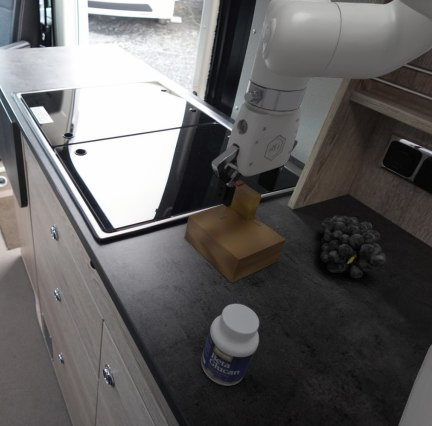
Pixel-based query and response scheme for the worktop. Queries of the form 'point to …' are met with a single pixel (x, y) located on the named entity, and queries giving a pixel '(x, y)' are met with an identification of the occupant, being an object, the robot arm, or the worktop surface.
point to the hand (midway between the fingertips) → (244, 194)
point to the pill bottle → (230, 345)
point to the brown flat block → (233, 241)
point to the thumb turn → (245, 200)
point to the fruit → (350, 246)
